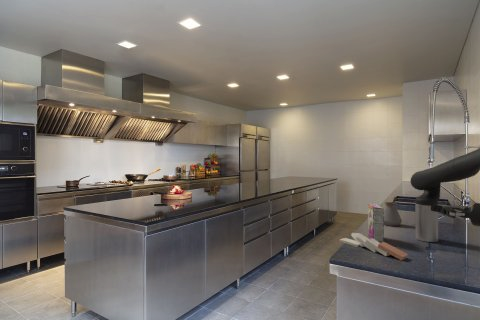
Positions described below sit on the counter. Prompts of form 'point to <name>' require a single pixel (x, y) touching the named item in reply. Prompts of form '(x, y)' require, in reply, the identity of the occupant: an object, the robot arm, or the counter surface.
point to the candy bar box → (375, 222)
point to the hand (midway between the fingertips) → (431, 207)
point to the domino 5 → (392, 251)
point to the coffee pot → (391, 214)
